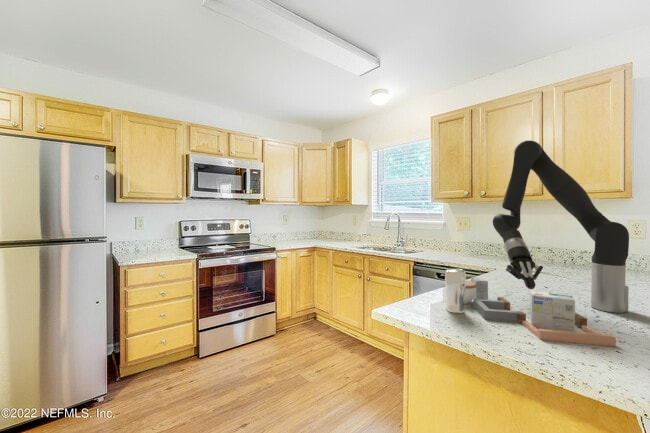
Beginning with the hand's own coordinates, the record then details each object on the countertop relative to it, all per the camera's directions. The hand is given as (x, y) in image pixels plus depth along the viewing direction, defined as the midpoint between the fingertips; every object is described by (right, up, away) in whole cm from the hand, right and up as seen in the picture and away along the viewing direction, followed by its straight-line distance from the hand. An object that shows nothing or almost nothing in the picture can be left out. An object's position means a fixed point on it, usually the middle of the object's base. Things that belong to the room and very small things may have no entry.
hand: (531, 288), depth 108 cm
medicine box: (-12, -8, +14) cm, 20 cm away
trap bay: (-15, -8, -4) cm, 18 cm away
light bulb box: (-6, -9, -17) cm, 20 cm away
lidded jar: (-21, -8, +11) cm, 25 cm away
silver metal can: (-29, -8, -1) cm, 30 cm away
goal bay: (-5, -9, -20) cm, 23 cm away
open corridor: (-2, -8, -5) cm, 10 cm away
